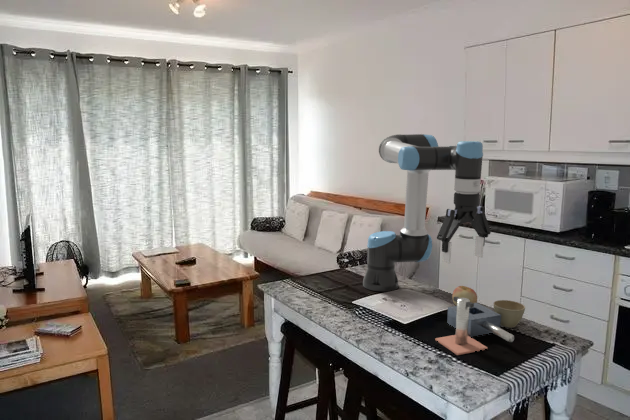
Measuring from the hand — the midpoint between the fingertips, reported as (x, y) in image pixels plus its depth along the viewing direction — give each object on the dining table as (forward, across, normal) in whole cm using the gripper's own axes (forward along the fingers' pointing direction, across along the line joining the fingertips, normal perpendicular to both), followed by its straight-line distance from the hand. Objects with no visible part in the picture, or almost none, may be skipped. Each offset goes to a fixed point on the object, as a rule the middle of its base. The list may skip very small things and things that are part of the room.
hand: (462, 259), depth 145 cm
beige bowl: (+26, +22, -1) cm, 34 cm away
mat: (+26, -4, -5) cm, 26 cm away
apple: (+26, +20, +17) cm, 37 cm away
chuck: (+26, +9, -3) cm, 27 cm away
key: (+25, -4, -5) cm, 26 cm away
